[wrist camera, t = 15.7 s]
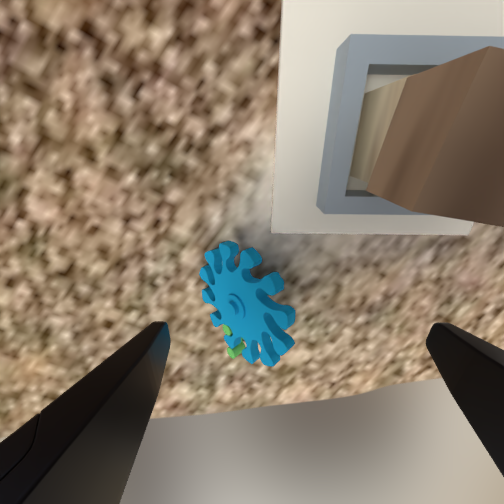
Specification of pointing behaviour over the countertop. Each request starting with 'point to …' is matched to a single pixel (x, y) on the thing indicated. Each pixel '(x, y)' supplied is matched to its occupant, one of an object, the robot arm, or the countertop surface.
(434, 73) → the walnut block
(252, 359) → the gear
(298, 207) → the board
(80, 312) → the countertop surface
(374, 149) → the maple cube
